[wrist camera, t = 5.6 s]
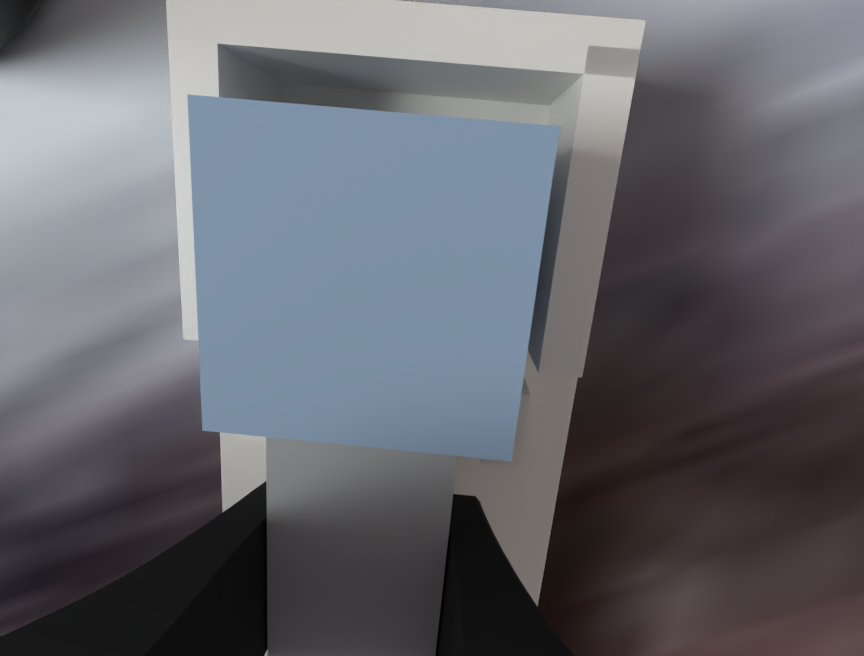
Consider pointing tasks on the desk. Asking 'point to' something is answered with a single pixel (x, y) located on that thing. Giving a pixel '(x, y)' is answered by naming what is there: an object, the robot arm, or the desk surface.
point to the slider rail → (452, 97)
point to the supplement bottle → (15, 16)
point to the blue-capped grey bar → (363, 341)
